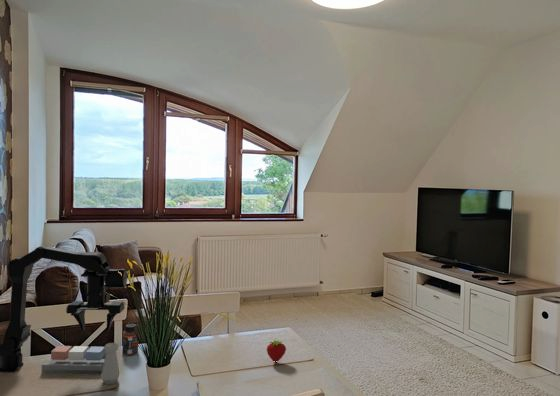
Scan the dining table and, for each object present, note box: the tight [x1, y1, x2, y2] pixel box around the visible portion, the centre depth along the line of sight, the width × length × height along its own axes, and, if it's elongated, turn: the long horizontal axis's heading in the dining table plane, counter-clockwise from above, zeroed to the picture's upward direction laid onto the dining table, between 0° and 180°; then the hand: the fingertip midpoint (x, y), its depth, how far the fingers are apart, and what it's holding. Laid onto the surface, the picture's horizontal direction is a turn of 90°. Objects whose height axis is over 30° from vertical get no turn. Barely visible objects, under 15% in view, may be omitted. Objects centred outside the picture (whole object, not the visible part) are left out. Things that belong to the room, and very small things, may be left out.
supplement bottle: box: [121, 323, 139, 357], centre depth 167 cm, size 6×6×11 cm
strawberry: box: [266, 338, 287, 362], centre depth 164 cm, size 6×8×10 cm
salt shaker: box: [100, 342, 121, 386], centre depth 144 cm, size 6×6×13 cm
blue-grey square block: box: [86, 345, 105, 361], centre depth 154 cm, size 5×5×3 cm
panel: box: [41, 352, 106, 376], centre depth 154 cm, size 20×12×3 cm, turn 93°
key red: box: [50, 345, 73, 361], centre depth 154 cm, size 5×5×3 cm
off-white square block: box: [68, 345, 89, 360], centre depth 154 cm, size 5×5×3 cm
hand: (96, 330), depth 154 cm, fingers open, 8 cm apart
